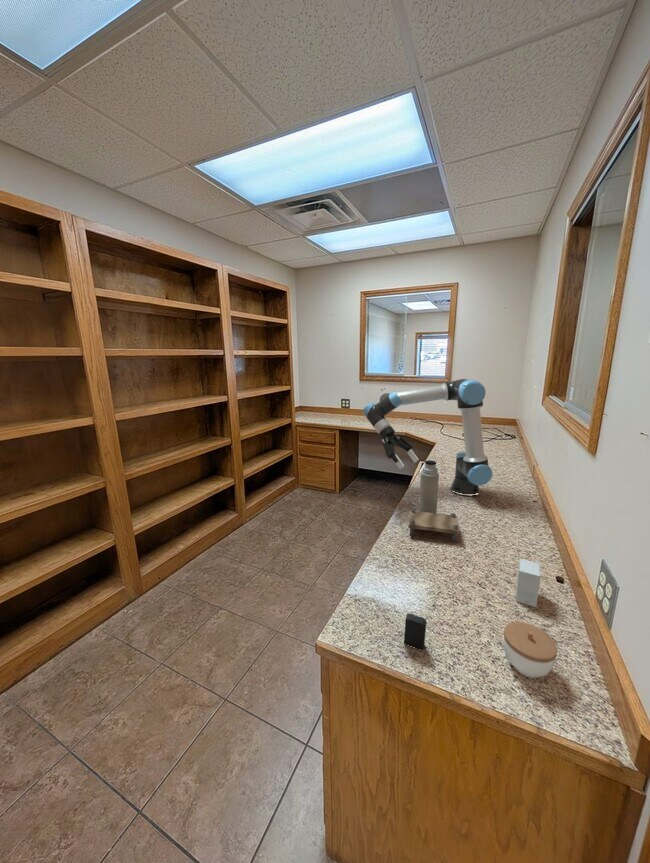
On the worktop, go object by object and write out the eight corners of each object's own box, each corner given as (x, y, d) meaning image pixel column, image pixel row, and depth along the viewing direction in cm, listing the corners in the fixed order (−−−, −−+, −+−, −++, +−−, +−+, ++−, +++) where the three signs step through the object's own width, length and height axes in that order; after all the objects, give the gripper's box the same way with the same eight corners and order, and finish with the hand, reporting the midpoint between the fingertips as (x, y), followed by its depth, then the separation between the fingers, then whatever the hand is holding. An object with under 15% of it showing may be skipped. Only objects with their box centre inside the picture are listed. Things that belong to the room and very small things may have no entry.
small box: (536, 608, 97) (540, 576, 95) (515, 601, 100) (518, 570, 98) (536, 592, 104) (540, 563, 102) (516, 586, 107) (519, 557, 105)
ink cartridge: (424, 644, 85) (426, 618, 83) (423, 651, 83) (425, 624, 81) (405, 638, 87) (407, 612, 85) (403, 644, 85) (405, 618, 83)
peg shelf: (455, 528, 145) (456, 513, 144) (458, 544, 132) (460, 528, 131) (409, 522, 151) (410, 507, 149) (408, 537, 138) (408, 521, 136)
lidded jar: (504, 678, 76) (508, 644, 74) (498, 642, 85) (501, 611, 84) (559, 694, 72) (565, 658, 70) (546, 655, 82) (551, 622, 80)
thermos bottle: (423, 512, 161) (426, 458, 155) (438, 517, 155) (442, 461, 150) (415, 518, 155) (418, 461, 150) (431, 523, 150) (435, 465, 144)
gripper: (393, 430, 176) (417, 462, 169) (365, 438, 159) (390, 474, 151) (402, 422, 171) (427, 454, 164) (374, 428, 154) (400, 465, 147)
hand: (409, 464), depth 158 cm, fingers open, 13 cm apart
